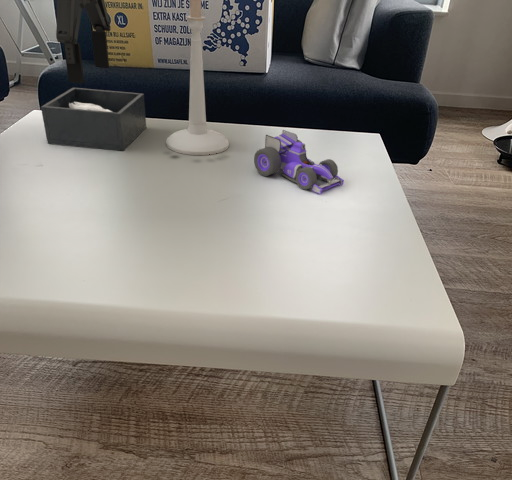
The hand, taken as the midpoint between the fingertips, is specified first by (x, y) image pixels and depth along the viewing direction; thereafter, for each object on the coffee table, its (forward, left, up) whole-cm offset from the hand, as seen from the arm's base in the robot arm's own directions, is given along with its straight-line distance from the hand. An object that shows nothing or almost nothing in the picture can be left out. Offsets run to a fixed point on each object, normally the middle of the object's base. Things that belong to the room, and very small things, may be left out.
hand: (90, 74), depth 107 cm
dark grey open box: (0, 0, -12) cm, 12 cm away
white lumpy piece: (0, +1, -11) cm, 11 cm away
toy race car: (+43, -13, -12) cm, 47 cm away
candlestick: (+21, 0, -12) cm, 24 cm away
